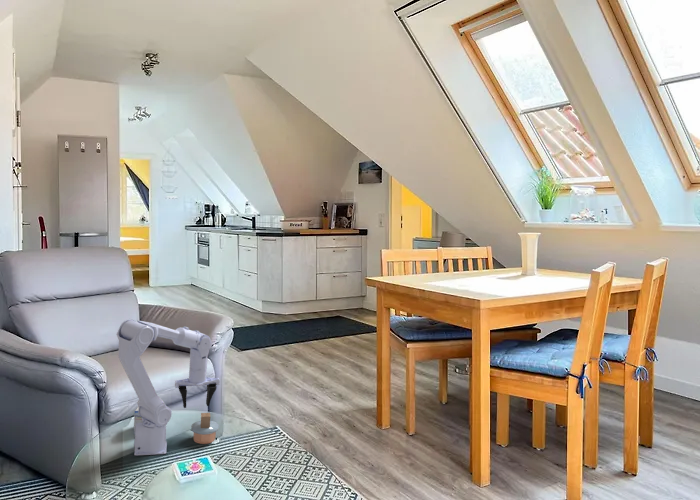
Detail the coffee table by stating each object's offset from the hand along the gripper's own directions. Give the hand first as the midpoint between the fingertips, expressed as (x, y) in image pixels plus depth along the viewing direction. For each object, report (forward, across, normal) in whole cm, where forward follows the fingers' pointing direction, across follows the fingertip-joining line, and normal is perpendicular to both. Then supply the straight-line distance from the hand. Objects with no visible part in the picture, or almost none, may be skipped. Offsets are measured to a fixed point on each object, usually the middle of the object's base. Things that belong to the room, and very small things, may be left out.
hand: (196, 405), depth 197 cm
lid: (+6, +2, -5) cm, 8 cm away
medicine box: (+10, -16, +6) cm, 20 cm away
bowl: (+10, +2, -5) cm, 11 cm away
